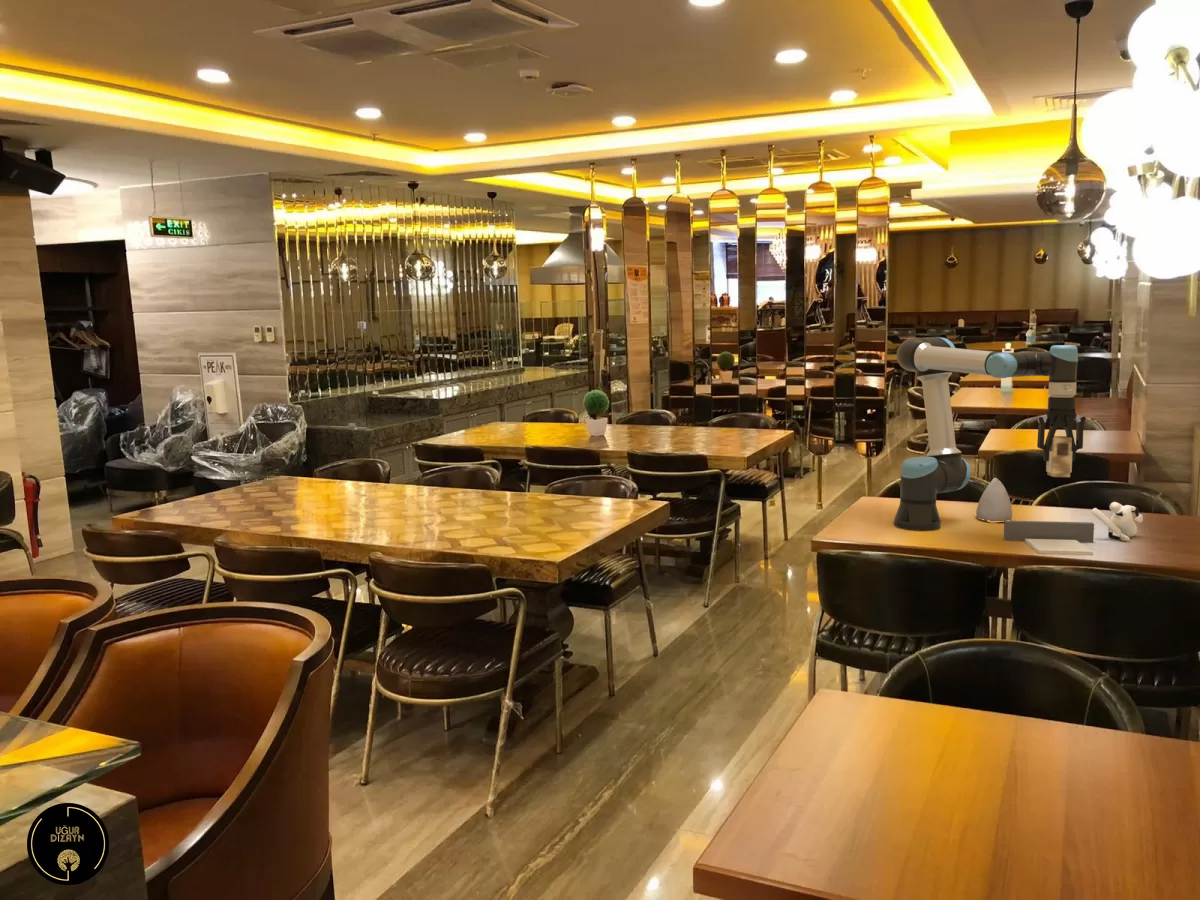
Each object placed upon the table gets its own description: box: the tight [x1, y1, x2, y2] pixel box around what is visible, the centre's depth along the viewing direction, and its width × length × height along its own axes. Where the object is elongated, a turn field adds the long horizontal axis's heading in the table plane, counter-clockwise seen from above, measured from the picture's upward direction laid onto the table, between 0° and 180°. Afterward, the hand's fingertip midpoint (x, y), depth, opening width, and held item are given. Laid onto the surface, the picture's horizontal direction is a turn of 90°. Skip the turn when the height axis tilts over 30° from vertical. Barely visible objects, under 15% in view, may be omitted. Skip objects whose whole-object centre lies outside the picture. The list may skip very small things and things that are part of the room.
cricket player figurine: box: [1090, 501, 1144, 542], centre depth 288 cm, size 13×10×15 cm
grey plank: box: [1003, 520, 1095, 543], centre depth 288 cm, size 26×2×6 cm, turn 80°
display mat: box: [1024, 539, 1094, 556], centre depth 279 cm, size 15×15×1 cm
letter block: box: [1046, 435, 1072, 478], centre depth 279 cm, size 5×5×12 cm
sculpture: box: [975, 477, 1013, 521], centre depth 319 cm, size 13×12×15 cm
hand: (1058, 471), depth 279 cm, fingers closed on letter block, 5 cm apart
